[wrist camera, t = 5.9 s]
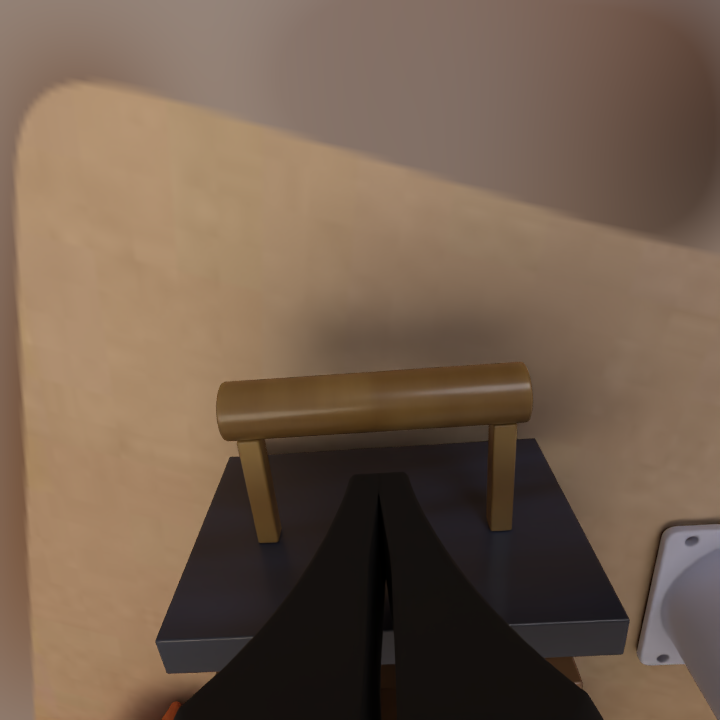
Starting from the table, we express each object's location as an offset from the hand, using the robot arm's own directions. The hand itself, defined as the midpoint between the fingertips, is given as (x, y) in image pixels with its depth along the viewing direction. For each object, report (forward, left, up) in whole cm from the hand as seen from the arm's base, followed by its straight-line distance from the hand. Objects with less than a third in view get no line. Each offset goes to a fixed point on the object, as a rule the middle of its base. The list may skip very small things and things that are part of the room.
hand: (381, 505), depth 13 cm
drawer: (0, +6, -5) cm, 8 cm away
